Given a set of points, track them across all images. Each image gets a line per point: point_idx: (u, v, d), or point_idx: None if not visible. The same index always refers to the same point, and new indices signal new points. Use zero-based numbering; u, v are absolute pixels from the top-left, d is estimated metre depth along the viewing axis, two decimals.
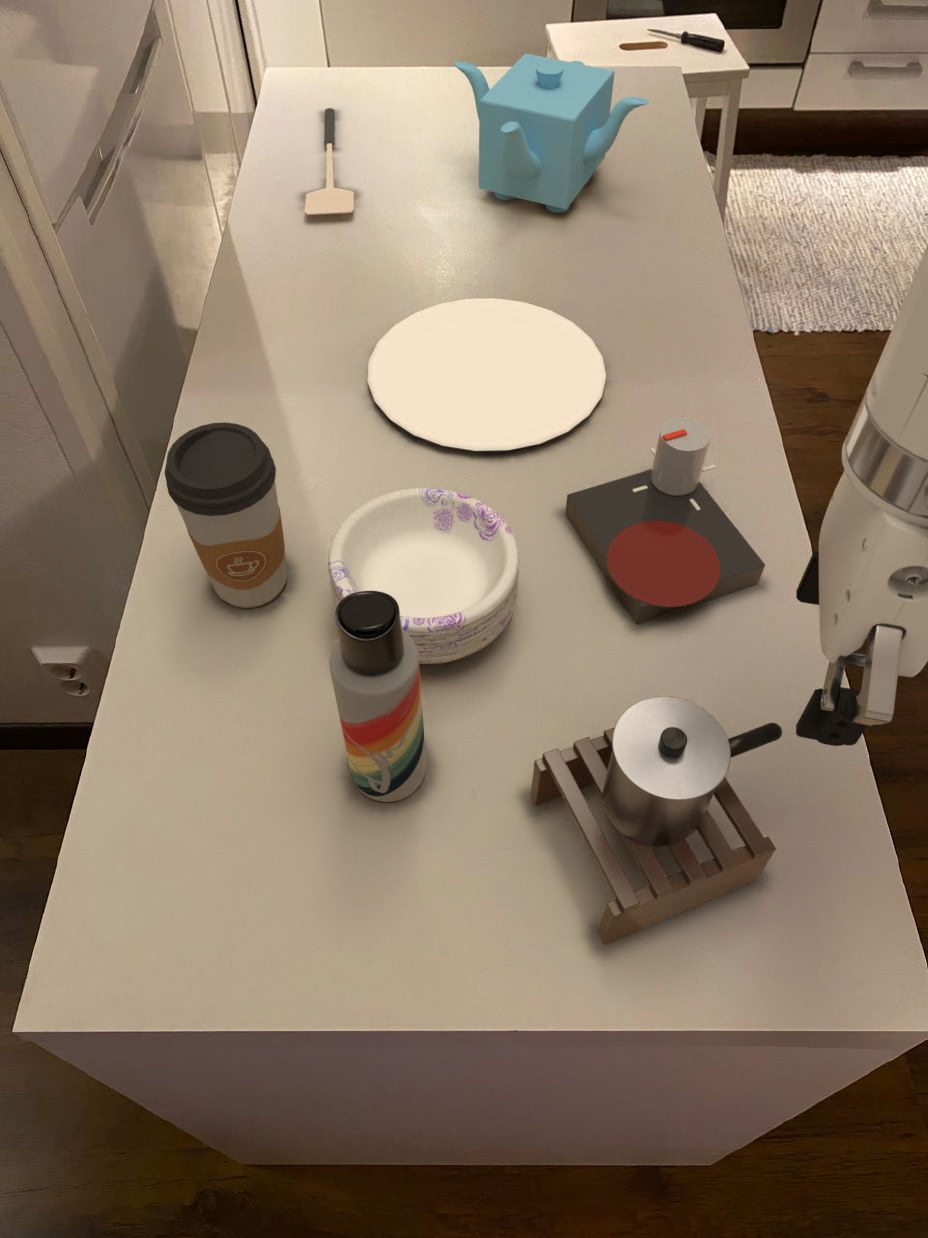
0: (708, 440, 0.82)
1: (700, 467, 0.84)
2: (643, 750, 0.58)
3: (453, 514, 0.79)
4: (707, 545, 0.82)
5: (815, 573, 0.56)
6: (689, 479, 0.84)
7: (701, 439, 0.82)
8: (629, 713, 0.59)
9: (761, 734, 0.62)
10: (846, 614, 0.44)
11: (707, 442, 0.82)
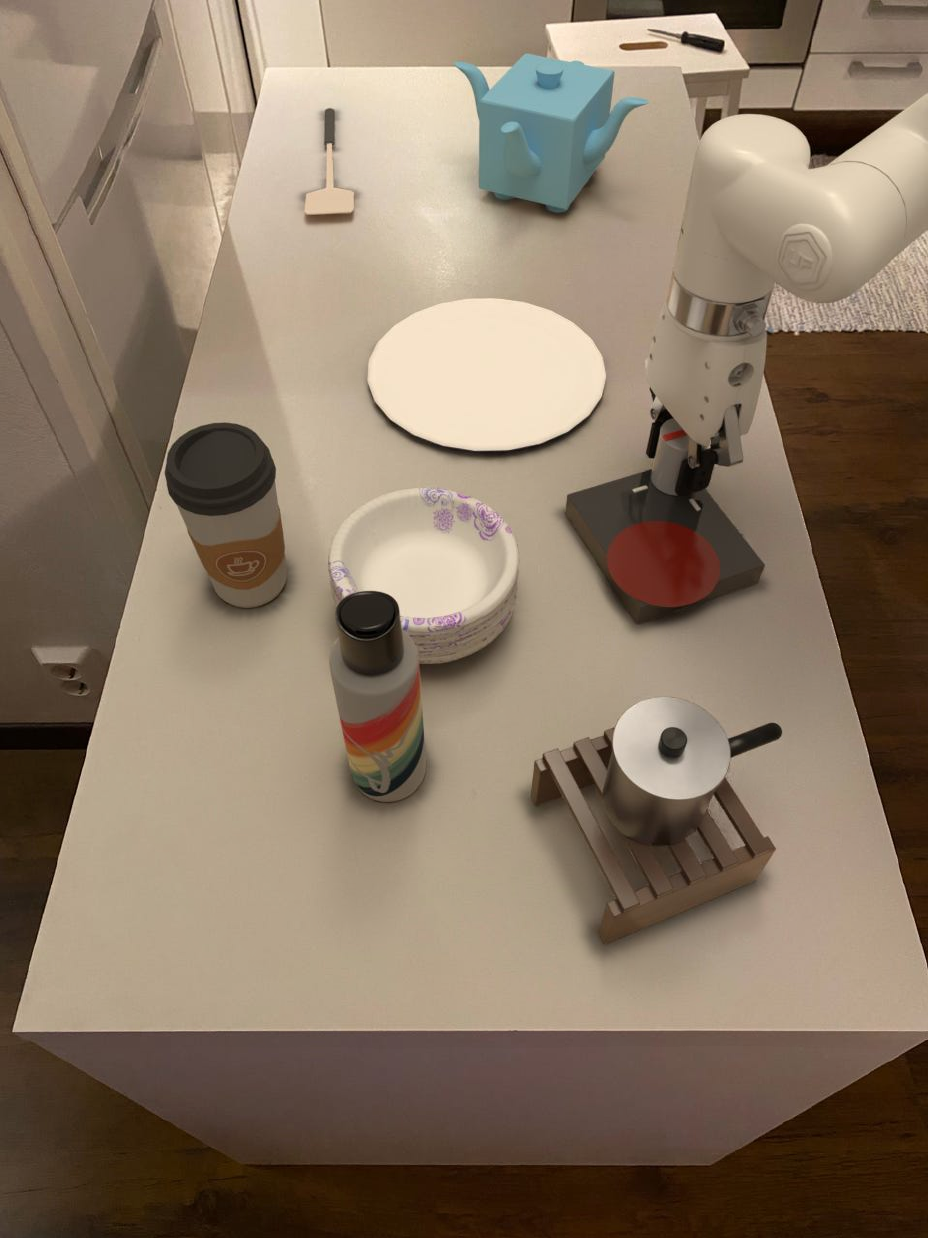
0: None
1: None
2: (643, 750, 0.58)
3: (453, 514, 0.79)
4: (707, 545, 0.82)
5: (657, 435, 0.85)
6: None
7: None
8: (629, 713, 0.59)
9: (761, 734, 0.62)
10: (709, 410, 0.74)
11: None
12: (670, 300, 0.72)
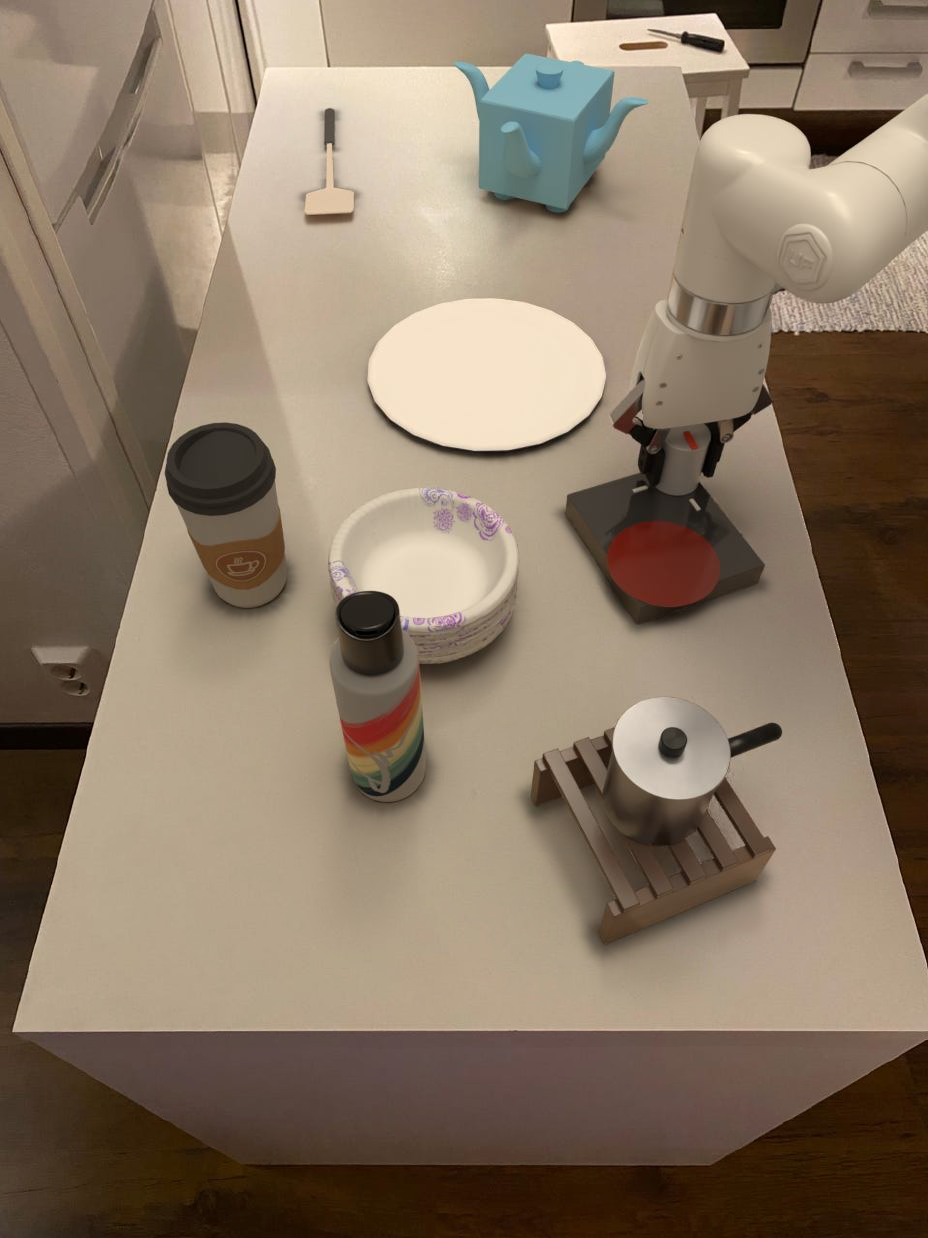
0: None
1: None
2: (643, 750, 0.58)
3: (453, 514, 0.79)
4: (707, 545, 0.82)
5: None
6: None
7: (695, 424, 0.83)
8: (629, 713, 0.59)
9: (761, 734, 0.62)
10: (763, 376, 0.77)
11: None
12: (724, 326, 0.70)
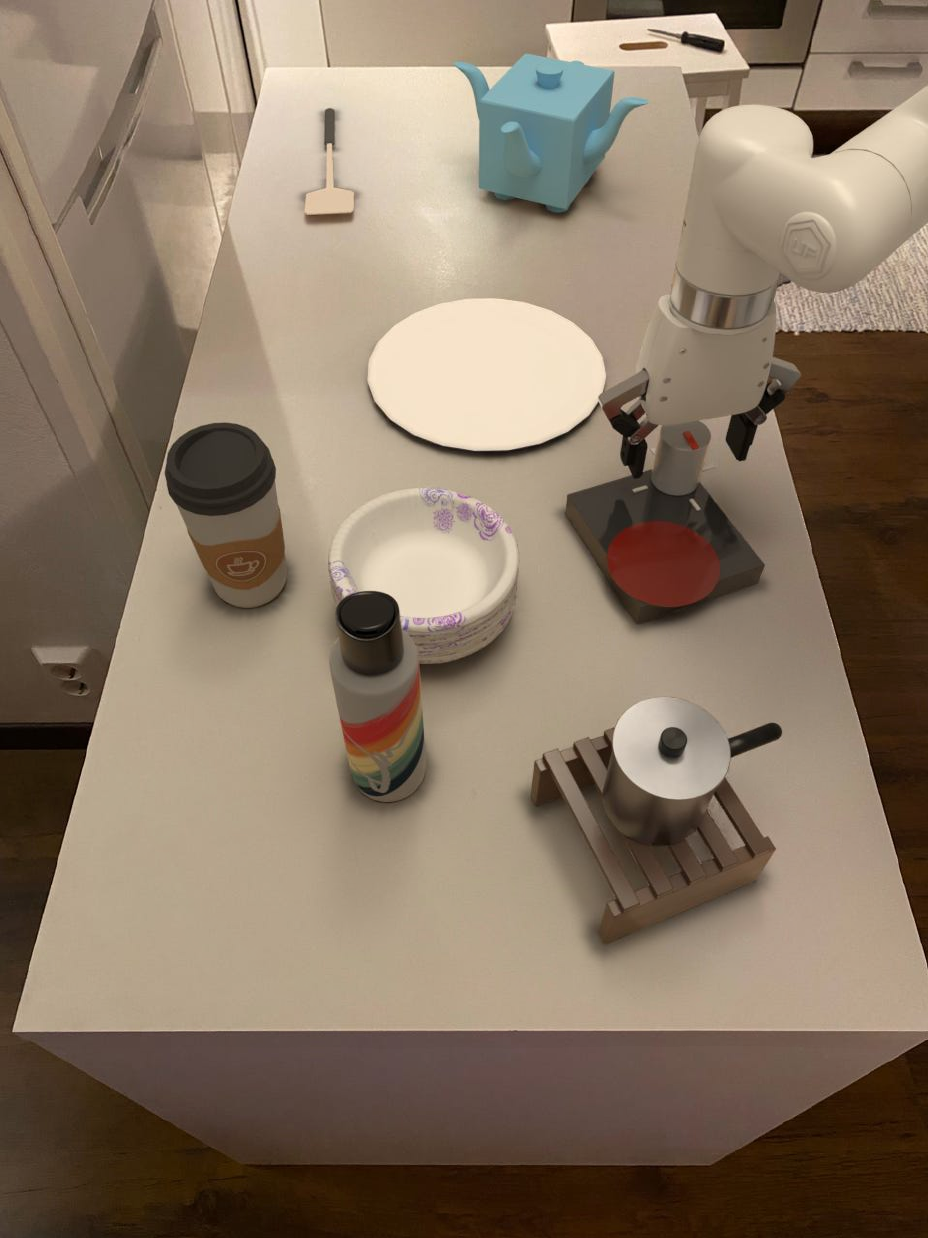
0: None
1: None
2: (643, 750, 0.58)
3: (453, 514, 0.79)
4: (707, 545, 0.82)
5: None
6: None
7: (694, 424, 0.83)
8: (629, 713, 0.59)
9: (761, 734, 0.62)
10: (768, 371, 0.76)
11: (698, 421, 0.84)
12: (727, 319, 0.69)
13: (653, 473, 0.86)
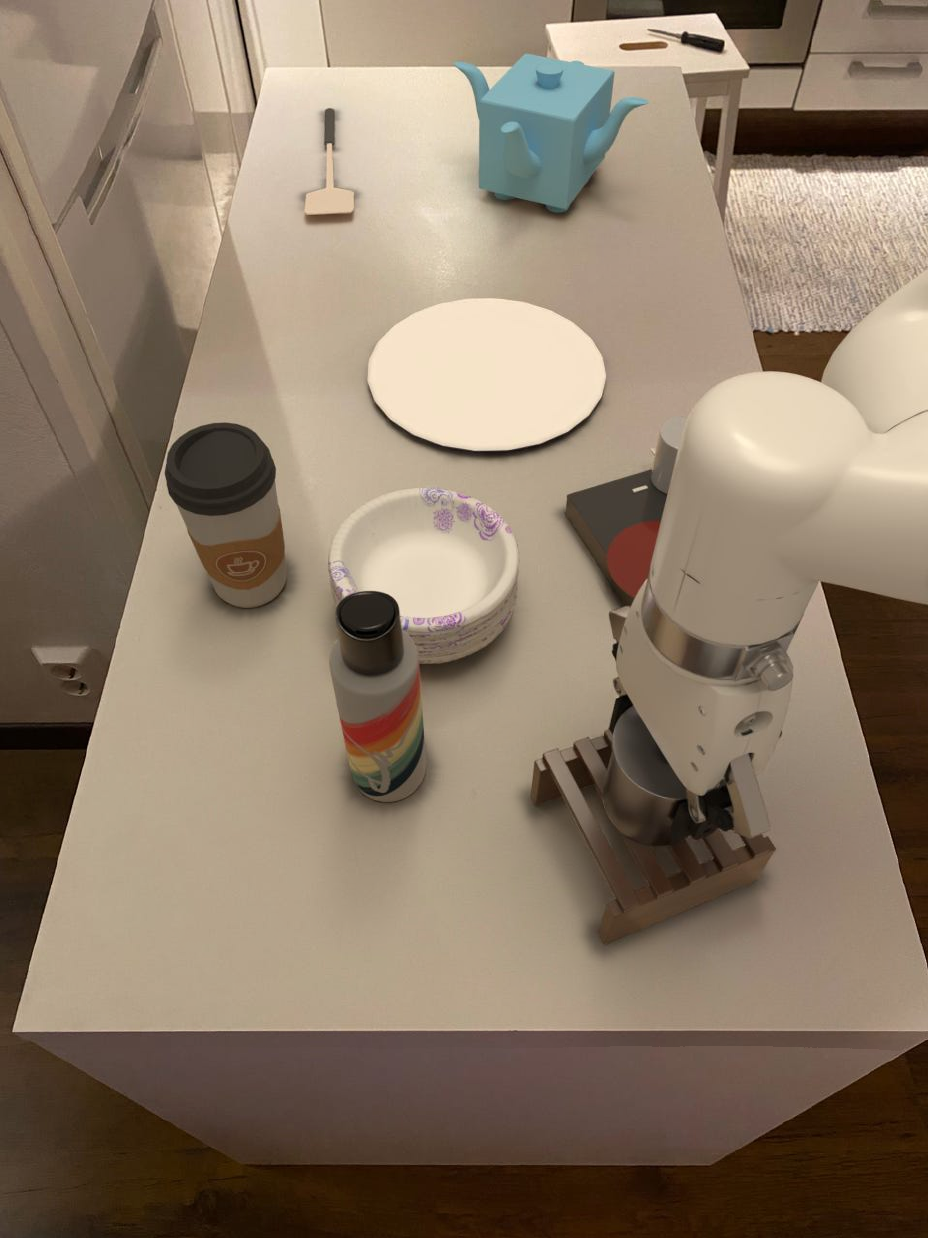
0: None
1: None
2: (643, 750, 0.58)
3: (453, 514, 0.79)
4: None
5: None
6: None
7: None
8: (629, 713, 0.59)
9: None
10: (705, 763, 0.49)
11: None
12: (645, 615, 0.47)
13: (653, 473, 0.86)
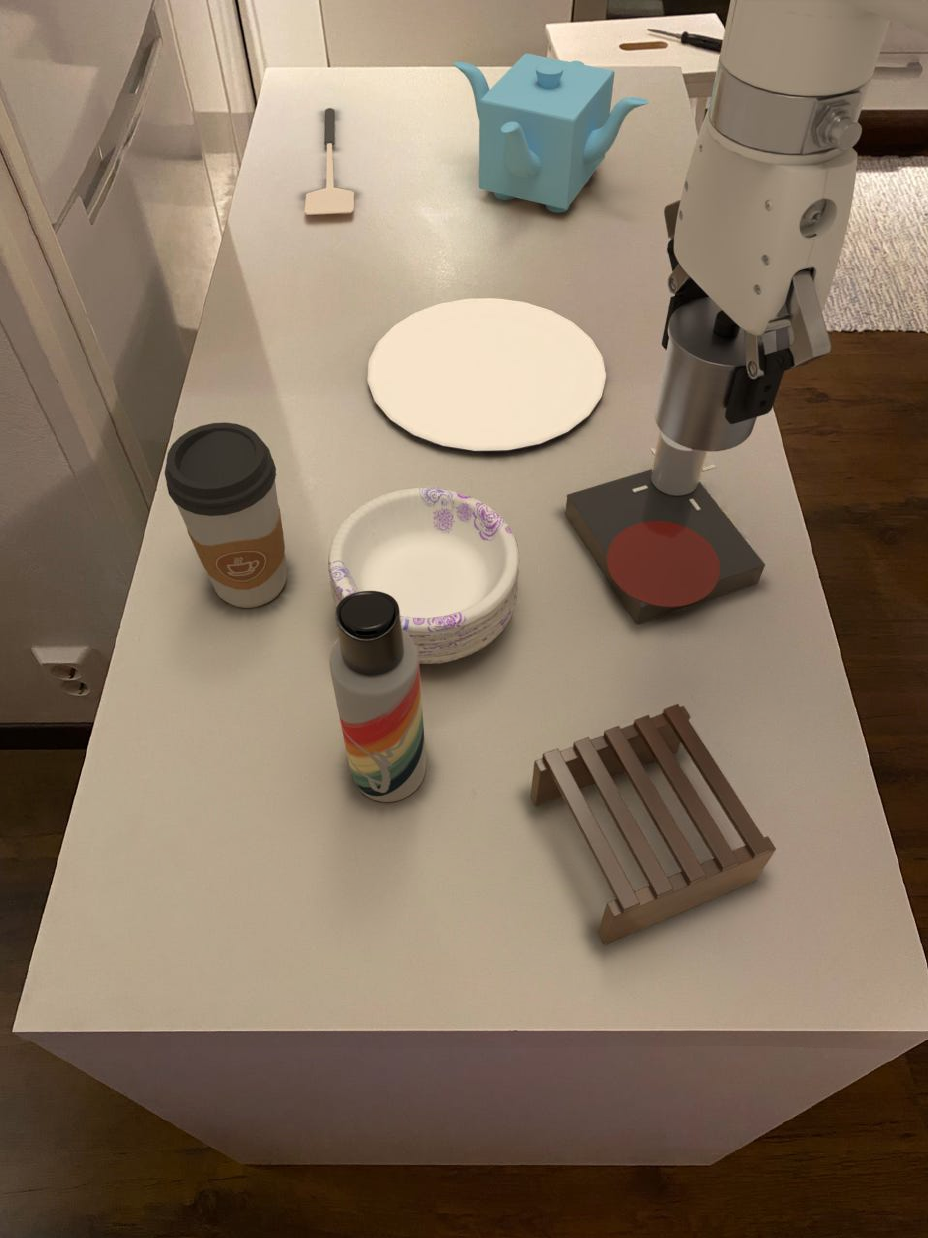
0: None
1: None
2: (699, 332, 0.60)
3: (453, 514, 0.79)
4: (707, 545, 0.82)
5: None
6: None
7: None
8: (683, 307, 0.61)
9: None
10: (769, 276, 0.51)
11: None
12: (714, 107, 0.48)
13: (653, 473, 0.86)
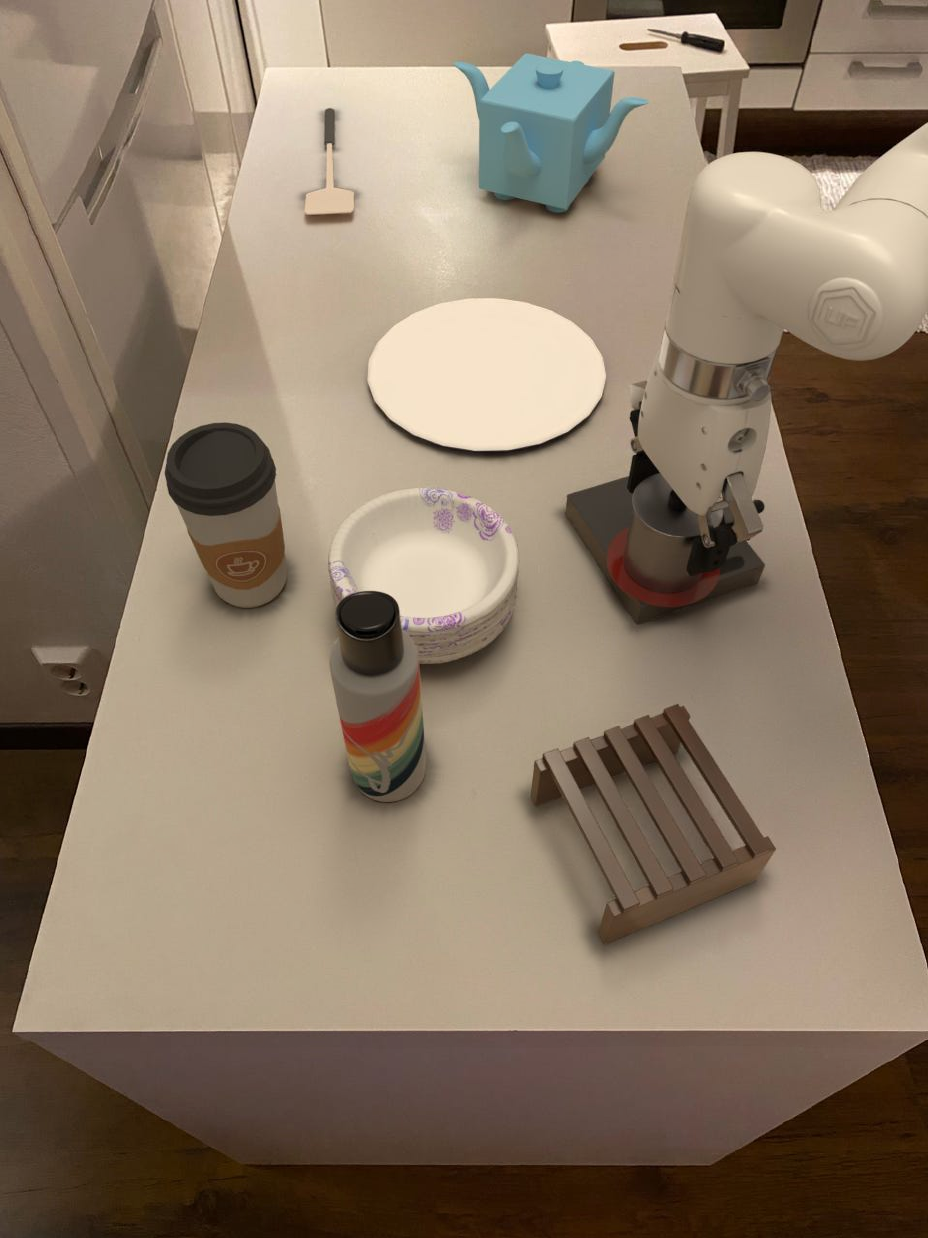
0: None
1: None
2: (656, 506, 0.75)
3: (453, 514, 0.79)
4: None
5: (639, 469, 0.77)
6: None
7: None
8: (645, 482, 0.77)
9: None
10: (707, 479, 0.66)
11: None
12: (662, 358, 0.63)
13: None
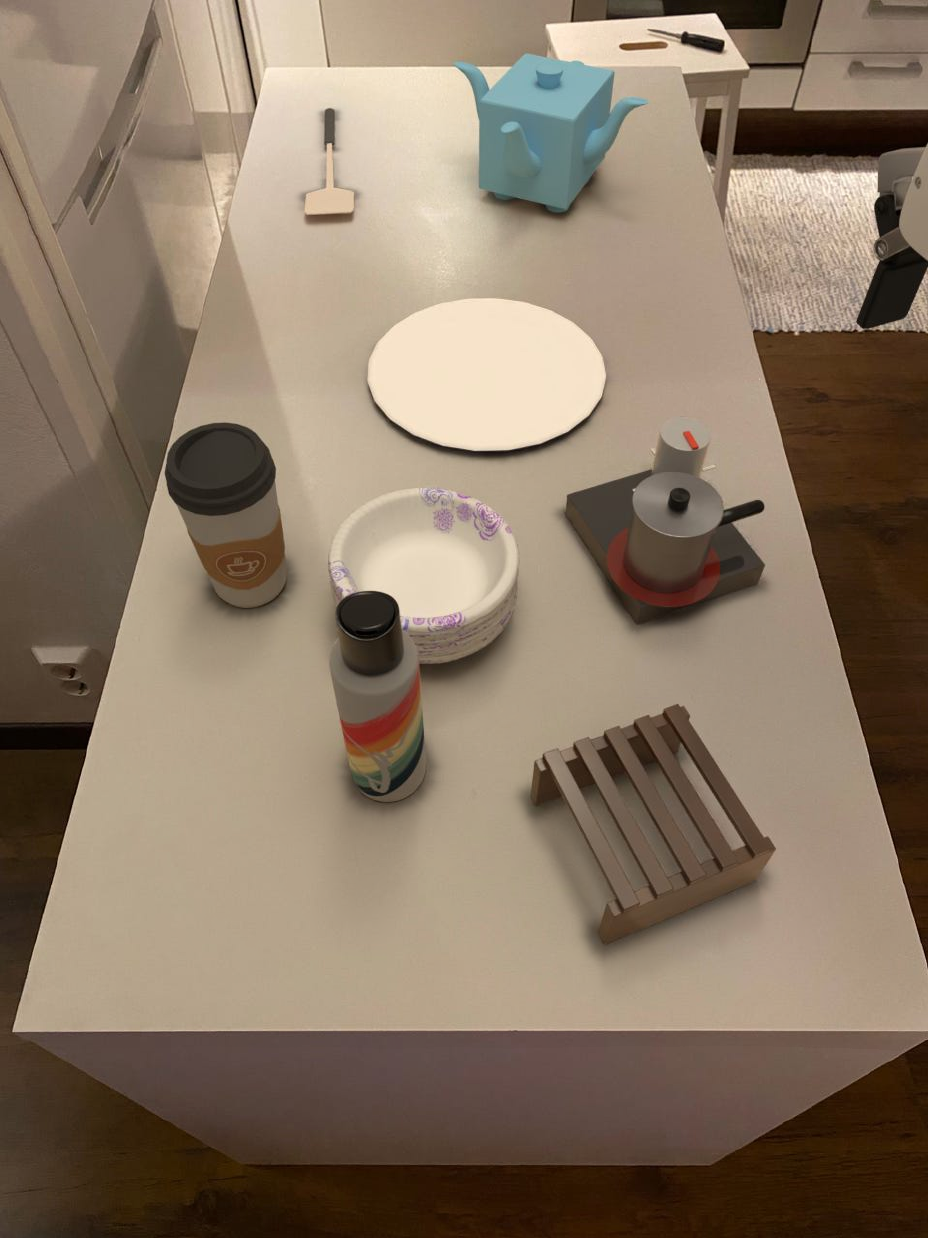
0: (696, 420, 0.84)
1: None
2: (656, 506, 0.75)
3: (453, 514, 0.79)
4: None
5: (884, 286, 0.53)
6: None
7: (694, 424, 0.83)
8: (645, 482, 0.77)
9: (748, 506, 0.79)
10: None
11: (698, 421, 0.84)
12: None
13: (653, 473, 0.86)
